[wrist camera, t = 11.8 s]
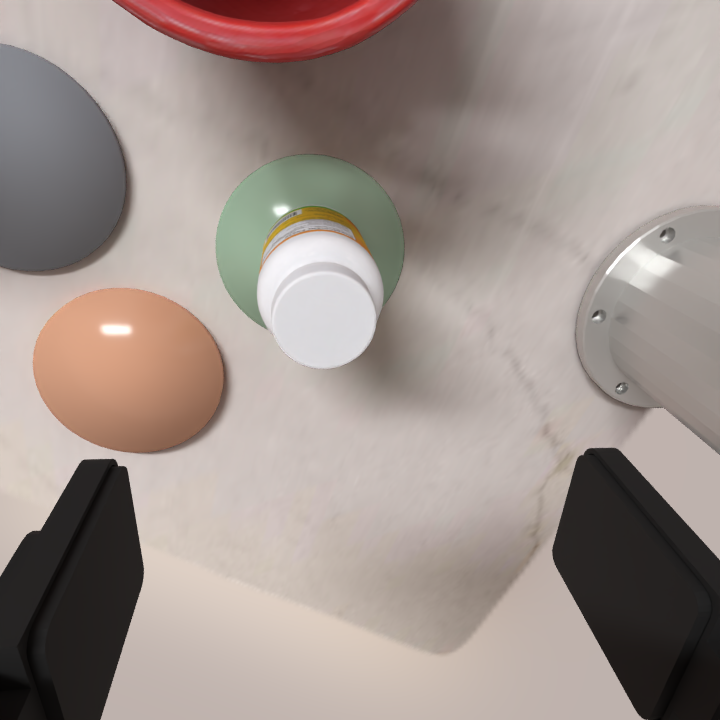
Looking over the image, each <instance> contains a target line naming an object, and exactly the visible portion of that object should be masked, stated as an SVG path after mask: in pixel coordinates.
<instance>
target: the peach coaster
mask: <svg viewBox="0 0 720 720" xmlns="http://www.w3.org/2000/svg"><path fill="white" fill-rule="evenodd" d="M33 371H34V377H35V381H36V385H37V388H38V390H39V393H40V395H41V397H42V399H43V401H44V402H45V404H46V406H47V407H48V408H49V410H50V411H51V412H52V414H53V415H54V416H55V417H56V418H57V419H58V420H59V421H60V422H61V423H62V424H63V425H64V426H66V427H67V428H68V429H69V430H70V431H72V432H73V433H75V434H77V435H78V436H80V437H81V438H83V439H85V440H87V441H89V442H91V443H94V444H96V445H99V446H101V447H105V448H108V449H112V450H117V451H123V452H135V453H140V452H153V451H159V450H163V449H167V448H170V447H173V446H175V445H178V444H180V443H182V442H184V441H186V440H188V439H190V438H191V437H192V436H194V435H195V434H196V433H198V432H199V431H200V430H201V429H202V428H203V427H204V426H205V425H206V424H207V423H208V421H209V420H210V419H211V417H212V416H213V414H214V412H215V411H216V409H217V406H218V404H219V401H220V398H221V393H222V389H223V382H224V370H223V363H222V358H221V355H220V352H219V349H218V347H217V345H216V343H215V341H214V339H213V337H212V336H211V334H210V333H209V331H208V330H207V329H206V327H205V326H204V325H203V324H202V323H201V322H200V321H199V320H198V319H197V318H196V317H195V316H194V315H193V314H191V313H190V312H189V311H188V310H187V309H185V308H183V307H182V306H180V305H179V304H177V303H175V302H173V301H171V300H169V299H167V298H165V297H163V296H160V295H157V294H155V293H152V292H147V291H143V290H138V289H130V288H110V289H102V290H97V291H94V292H90V293H87V294H84V295H82V296H79V297H77V298H75V299H74V300H72V301H70V302H68V303H67V304H66V305H64V306H63V307H62V308H61V309H59V310H58V311H57V312H56V313H55V314H54V315H53V316H52V317H51V318H50V319H49V320H48V321H47V323H46V324H45V326H44V327H43V329H42V330H41V332H40V334H39V337H38V339H37V341H36V345H35V349H34V355H33Z"/></svg>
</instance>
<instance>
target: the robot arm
mask: <svg viewBox="0 0 720 720" xmlns="http://www.w3.org/2000/svg"><path fill="white" fill-rule="evenodd" d="M576 341H577V350H578V354H579V356H580V359H581V362H582V365H583V367H584V369H585V370H586V372H587V373H588V375H589V376H590V378H591V379H592V380H593V381H594V382H595V383H596V384H597V385H598V386H599V387H600V388H601V389H602V390H603V391H604V392H606V393H607V394H608V395H610V396H611V397H612V398H614V399H616V400H618V401H621V402H623V403H626V404H628V405H632V406H638V407H644V408H665V409H666V410H667V411H668V412H670V413H671V414H672V415H673V416H674V417H676V418H677V419H678V420H679V421H680V422H682V423H683V424H684V425H685V426H686V427H687V428H689V429H690V430H691V431H692V432H693V433H695V434H696V435H697V436H698V437H700V439H702V440H703V441H704V442H705V443H707V444H708V445H709V446H710V447H711V448H712V449H714V450H715V451H716V452H717V453H718V454H720V206H704V205H701V206H695V207H689V208H683V209H679V210H676V211H674V212H671V213H668V214H665V215H663V216H660V217H658V218H656V219H654V220H653V221H651V222H649V223H647V224H646V225H644V226H642V227H640V228H639V229H637V230H636V231H635V232H634V233H632V234H631V235H630V236H629V237H627V238H626V239H625V240H623V241H622V242H621V243H620V244H619V245H618V246H617V247H616V248H615V249H614V250H613V251H612V253H611V254H610V255H609V256H608V257H607V258H606V259H605V260H604V262H603V263H602V265H601V266H600V267H599V269H598V270H597V272H596V273H595V275H594V276H593V278H592V280H591V282H590V284H589V286H588V288H587V290H586V292H585V294H584V296H583V299H582V303H581V306H580V309H579V313H578V317H577V327H576ZM552 552H553V560H554V562H555V565H556V567H557V569H558V571H559V573H560V575H561V576H562V578H563V580H564V582H565V584H566V585H567V587H568V589H569V591H570V593H571V594H572V596H573V598H574V600H575V602H576V603H577V605H578V607H579V609H580V610H581V612H582V614H583V616H584V618H585V620H586V622H587V623H588V625H589V627H590V629H591V630H592V632H593V634H594V636H595V638H596V640H597V641H598V643H599V645H600V647H601V649H602V650H603V652H604V654H605V656H606V657H607V659H608V661H609V663H610V665H611V667H612V668H613V670H614V672H615V674H616V676H617V677H618V679H619V681H620V683H621V685H622V686H623V688H624V690H625V692H626V693H627V696H628V697H629V699H630V701H631V702H632V705H633V706H634V708H635V710H636V711H637V713H638V714H639V715H640V716H641V717H642V718H643V719H646V720H647V719H648V720H720V560H719V559H718V558H717V557H716V555H715V554H714V553H713V552H712V551H711V550H710V549H709V548H708V547H707V546H706V545H705V544H704V542H703V541H702V540H701V539H700V538H699V537H698V536H697V535H696V534H695V532H694V531H693V530H692V529H691V528H690V527H689V526H688V525H687V524H686V523H685V522H684V520H683V519H682V518H681V517H680V516H679V515H678V514H677V513H676V512H675V511H674V510H673V508H672V507H671V506H670V505H669V504H668V503H667V502H666V501H665V500H664V499H663V498H662V496H661V495H660V494H659V493H658V492H657V491H656V490H655V489H654V488H653V487H652V485H651V484H650V483H649V482H648V481H647V480H646V479H645V478H644V477H643V476H642V475H641V473H640V472H639V471H638V470H637V469H636V468H635V467H634V466H633V465H632V463H631V462H630V461H629V460H628V459H627V458H626V457H625V456H624V455H623V454H622V453H621V451H619V450H618V449H616V448H590V449H587V450H586V451H585V453H584V455H581V456H579V457H578V459H577V461H576V465H575V468H574V472H573V476H572V479H571V483H570V487H569V490H568V494H567V497H566V501H565V505H564V508H563V512H562V516H561V519H560V523H559V527H558V530H557V534H556V537H555V541H554V545H553V550H552ZM143 575H144V567H143V560H142V554H141V548H140V542H139V536H138V530H137V524H136V518H135V512H134V506H133V500H132V494H131V488H130V482H129V476H128V471H127V468H126V467H125V466H118V464H117V462H116V460H114V459H90V460H83V461H81V463H80V464H79V466H78V467H77V469H76V471H75V472H74V474H73V476H72V478H71V479H70V481H69V483H68V484H67V486H66V488H65V490H64V491H63V493H62V495H61V496H60V498H59V500H58V502H57V503H56V505H55V507H54V509H53V510H52V512H51V514H50V516H49V517H48V519H47V521H46V522H45V524H44V526H43V527H42V529H41V531H32V532H30V533H29V534H27V535H26V537H25V538H24V539H23V540H22V542H21V544H20V545H19V547H18V548H17V550H16V552H15V553H14V555H13V557H12V558H11V560H10V562H9V563H8V565H7V567H6V568H5V570H4V572H3V573H2V575H1V576H0V720H100V719H101V716H102V713H103V710H104V706H105V703H106V700H107V697H108V693H109V690H110V687H111V684H112V681H113V677H114V674H115V671H116V668H117V664H118V661H119V658H120V655H121V652H122V648H123V645H124V642H125V638H126V635H127V632H128V629H129V626H130V622H131V619H132V616H133V613H134V609H135V606H136V603H137V600H138V597H139V593H140V590H141V587H142V583H143Z"/></svg>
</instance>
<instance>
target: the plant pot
mask: <svg viewBox="0 0 720 720" xmlns="http://www.w3.org/2000/svg"><path fill="white" fill-rule="evenodd" d="M112 1H114V2H115V3H117V4H118V5H119V6H121V7H122V8H124V9H125V10H126V11H128V12H129V13H131V14H132V15H134V16H135V17H136V18H138V19H139V20H141V21H142V22H143V23H145V24H146V25H148V26H150V27H151V28H153V29H155V30H157V31H159V32H161V33H163V34H165V35H167V36H169V37H171V38H173V39H175V40H178V41H180V42H182V43H185V44H187V45H189V46H191V47H194V48H197V49H200V50H203V51H206V52H209V53H212V54H216V55H220V56H224V57H228V58H233V59H239V60H245V61H252V62H272V63H281V62H294V61H303V60H310V59H314V58H318V57H322V56H326V55H330V54H333V53H336V52H339V51H342V50H345V49H348V48H350V47H352V46H355V45H357V44H359V43H360V42H362V41H364V40H366V39H367V38H369V37H371V36H373V35H374V34H376V33H377V32H379V31H380V30H382V29H383V28H385V27H386V26H388V25H389V24H390V23H392V22H393V21H394V20H396V19H397V18H398V17H400V16H401V15H402V14H403V13H404V12H406V11H407V10H408V9H409V8H410V7H412V6H413V5H414V4H415V3H416V2H417V1H418V0H112Z"/></svg>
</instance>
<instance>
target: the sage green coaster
mask: <svg viewBox="0 0 720 720" xmlns="http://www.w3.org/2000/svg"><path fill="white" fill-rule="evenodd" d="M306 205H322V206H326V207H329V208H332V209H335V210H337V211H339V212H340V213H342V214H344V215H345V216H346V217H347V218H349V219H350V220H351V221H352V222H353V224H354V225H355V226H356V228H357V229H358V231H359V232H360V234H361V236H362V238H363V240H364V242H365V244H366V245H367V247H368V249H369V251H370V253H371V255H372V257H373V259H374V261H375V263H376V265H377V267H378V269H379V272H380V275H381V278H382V282H383V290H384V297H383V305H382V307H383V306H384V304H385V303H386V302H387V300H388V299H389V297H390V296H391V294H392V292H393V291H394V289H395V287H396V284H397V282H398V280H399V277H400V273H401V270H402V265H403V259H404V238H403V231H402V226H401V222H400V219H399V216H398V214H397V211H396V209H395V207H394V205H393V203H392V202H391V200H390V198H389V197H388V195H387V194H386V193H385V191H384V190H383V189H382V187H381V186H380V185H379V184H378V183H377V182H376V181H375V180H374V179H373V178H372V177H370V176H369V175H368V174H366V173H365V172H364V171H363V170H361V169H359V168H357V167H356V166H354V165H352V164H350V163H348V162H345V161H343V160H340V159H337V158H333V157H329V156H324V155H315V154H304V155H294V156H288V157H284V158H281V159H278V160H275V161H273V162H270V163H268V164H266V165H264V166H262V167H261V168H259V169H258V170H256V171H255V172H253V173H252V174H250V175H249V176H248V177H247V178H246V179H245V180H244V181H243V182H241V184H240V185H239V186H238V187H237V188H236V190H235V191H234V192H233V193H232V195H231V196H230V198H229V200H228V201H227V203H226V205H225V207H224V209H223V212H222V214H221V217H220V220H219V224H218V227H217V234H216V258H217V265H218V269H219V272H220V276H221V278H222V281H223V283H224V285H225V288H226V289H227V291H228V293H229V295H230V296H231V298H232V299H233V301H234V302H235V303H236V304H237V306H238V307H239V308H240V309H241V310H242V311H243V312H244V313H245V314H246V315H247V316H248V317H249V318H251V319H252V320H253V321H255V322H256V323H257V324H259V325H261V326H262V327H264V328H266V329H268V328H267V327H266V325H265V323H264V321H263V319H262V317H261V314H260V311H259V308H258V302H257V284H258V277H259V271H260V265H261V258H262V251H263V246H264V242H265V239H266V236H267V234H268V232H269V230H270V228H271V227H272V225H273V224H274V223H275V222H276V221H277V220H278V219H279V218H280V217H281V216H282V215H284V214H285V213H286V212H288V211H290V210H292V209H295V208H297V207H301V206H306Z"/></svg>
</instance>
